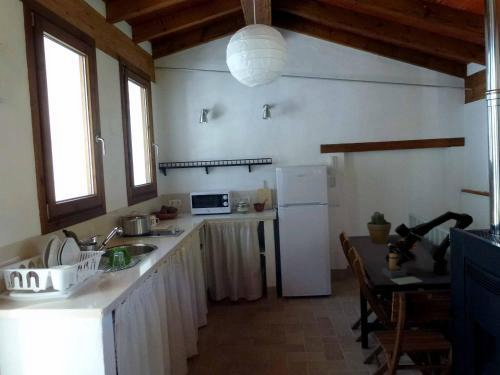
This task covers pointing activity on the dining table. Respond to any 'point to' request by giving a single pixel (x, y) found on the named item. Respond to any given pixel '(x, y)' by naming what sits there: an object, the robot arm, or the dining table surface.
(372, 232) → the potted plant
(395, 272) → the clamp block
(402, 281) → the pad
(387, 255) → the microphone
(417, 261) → the dining table surface
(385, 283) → the dining table surface
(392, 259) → the tan upright cylinder
